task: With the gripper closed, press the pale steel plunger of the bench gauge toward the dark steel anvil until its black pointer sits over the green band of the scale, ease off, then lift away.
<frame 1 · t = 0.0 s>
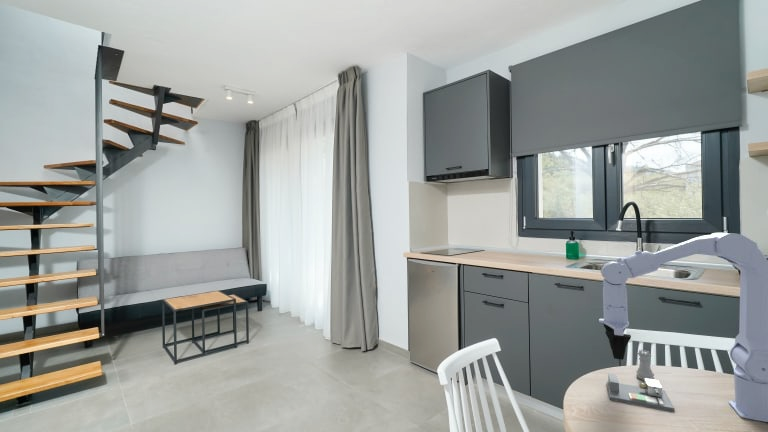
hand: (616, 353, 98), 10 cm above the table, tool pointing down, fingers open, 7 cm apart
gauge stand: (637, 396, 94), on the table
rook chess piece: (645, 379, 105), on the table
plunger: (650, 389, 93), point 2 cm above the table, slide at 0.0 cm
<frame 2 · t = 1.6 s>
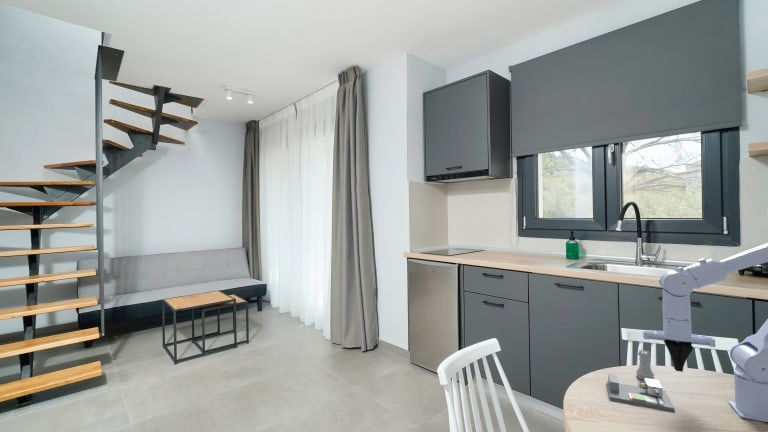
hand: (678, 369, 92), 8 cm above the table, tool pointing down, fingers closed
nothing on the table moved.
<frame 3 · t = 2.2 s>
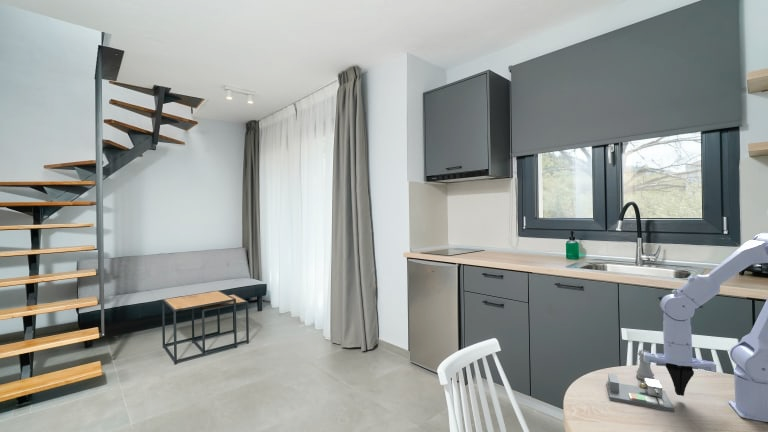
hand: (679, 393, 92), 2 cm above the table, tool pointing down, fingers closed
nothing on the table moved.
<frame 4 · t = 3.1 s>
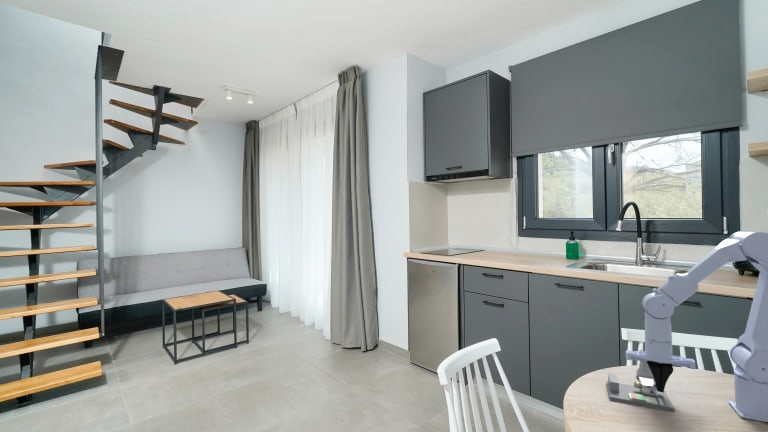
hand: (660, 390, 93), 2 cm above the table, tool pointing down, fingers closed
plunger: (645, 388, 94), point 2 cm above the table, slide at 1.2 cm, touching gripper
everything else where it was.
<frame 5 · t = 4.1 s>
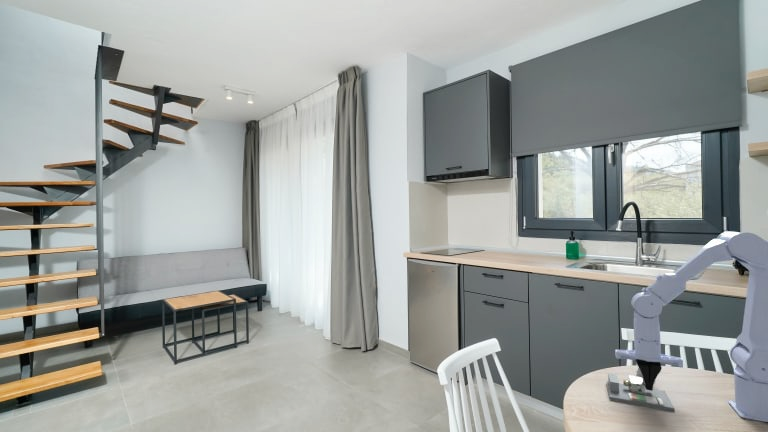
hand: (648, 388, 95), 2 cm above the table, tool pointing down, fingers closed
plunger: (634, 386, 95), point 2 cm above the table, slide at 3.6 cm, touching gripper
everything else where it was.
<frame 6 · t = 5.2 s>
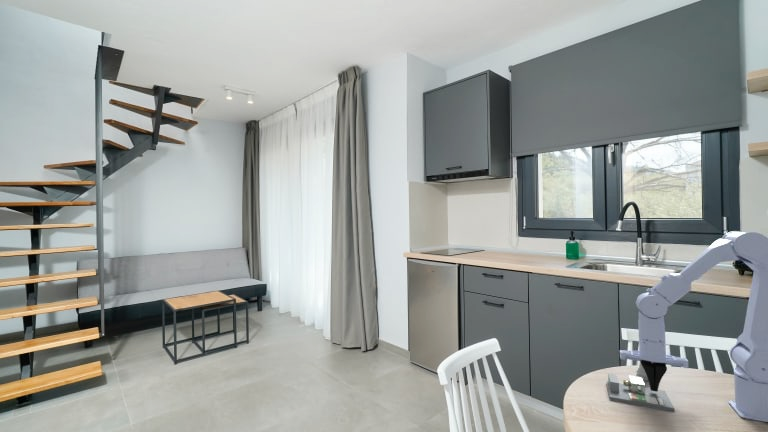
hand: (653, 389, 94), 2 cm above the table, tool pointing down, fingers closed
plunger: (634, 386, 95), point 2 cm above the table, slide at 3.6 cm
everything else where it was.
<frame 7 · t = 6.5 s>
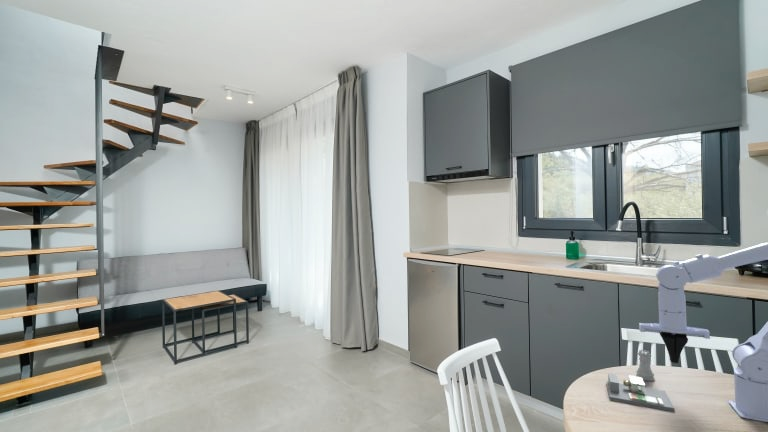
hand: (674, 361, 94), 9 cm above the table, tool pointing down, fingers closed
nothing on the table moved.
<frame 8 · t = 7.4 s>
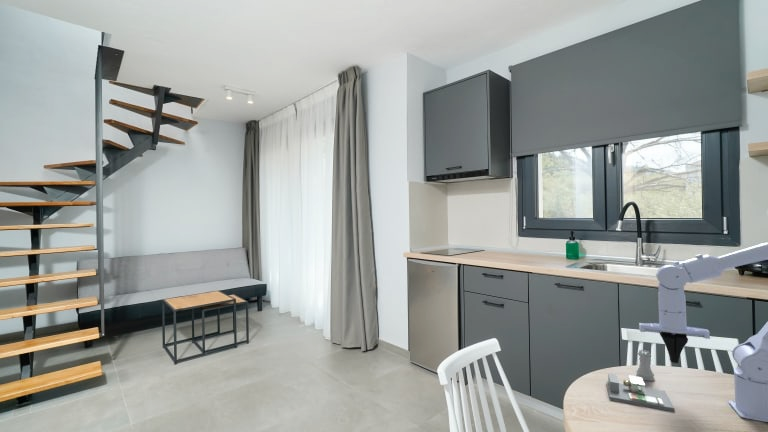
hand: (674, 361, 94), 9 cm above the table, tool pointing down, fingers closed
nothing on the table moved.
at the end: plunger slide at 3.6 cm; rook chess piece moved 0.2 cm from its start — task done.
